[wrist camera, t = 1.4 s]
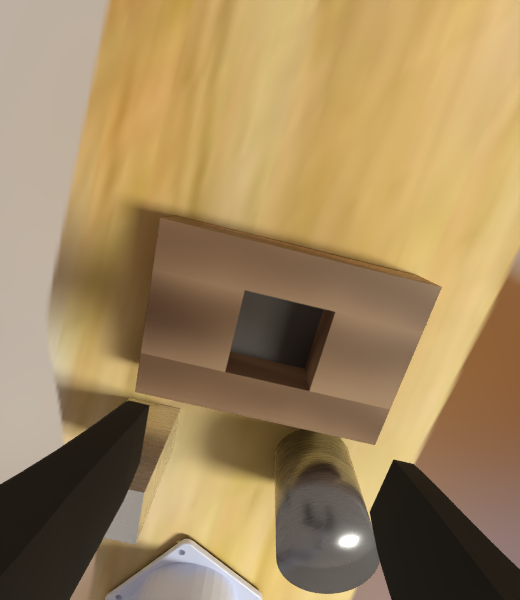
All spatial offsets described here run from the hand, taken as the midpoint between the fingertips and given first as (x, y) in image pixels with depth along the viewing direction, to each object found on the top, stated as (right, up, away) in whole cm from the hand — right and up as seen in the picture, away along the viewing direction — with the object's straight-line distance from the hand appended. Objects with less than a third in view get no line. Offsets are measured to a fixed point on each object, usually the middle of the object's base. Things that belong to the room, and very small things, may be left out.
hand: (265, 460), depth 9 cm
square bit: (-7, -3, +11) cm, 13 cm away
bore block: (+1, +3, +9) cm, 9 cm away
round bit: (+3, -6, +11) cm, 13 cm away
